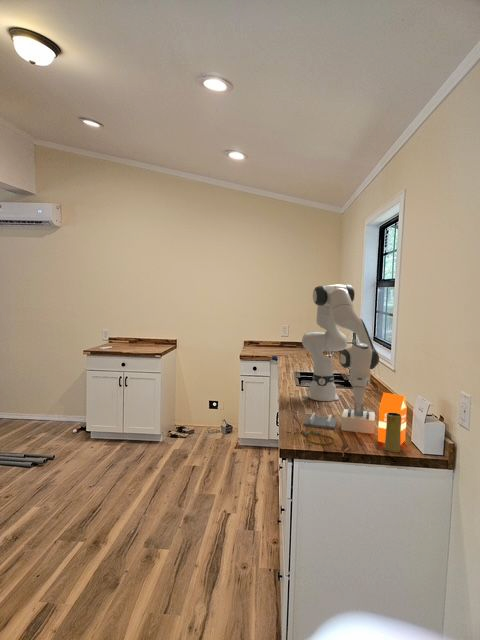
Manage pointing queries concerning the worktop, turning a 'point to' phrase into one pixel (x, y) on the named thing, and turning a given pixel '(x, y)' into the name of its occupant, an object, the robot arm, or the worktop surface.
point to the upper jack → (358, 421)
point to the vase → (393, 432)
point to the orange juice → (391, 405)
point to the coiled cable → (316, 434)
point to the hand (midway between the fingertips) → (358, 408)
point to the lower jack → (320, 421)
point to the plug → (360, 411)
